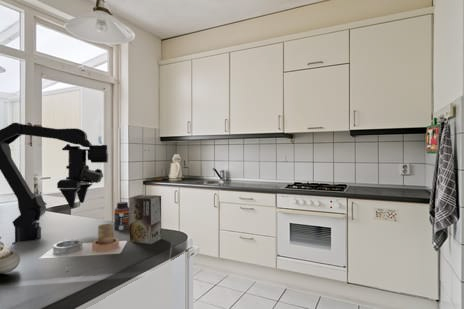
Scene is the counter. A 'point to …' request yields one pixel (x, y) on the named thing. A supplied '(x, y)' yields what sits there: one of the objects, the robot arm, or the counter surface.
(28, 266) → the counter surface
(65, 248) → the grey ring
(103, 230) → the banded peg
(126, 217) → the supplement bottle
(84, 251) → the socket board
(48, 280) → the counter surface
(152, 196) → the coffee box
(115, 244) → the terracotta socket
